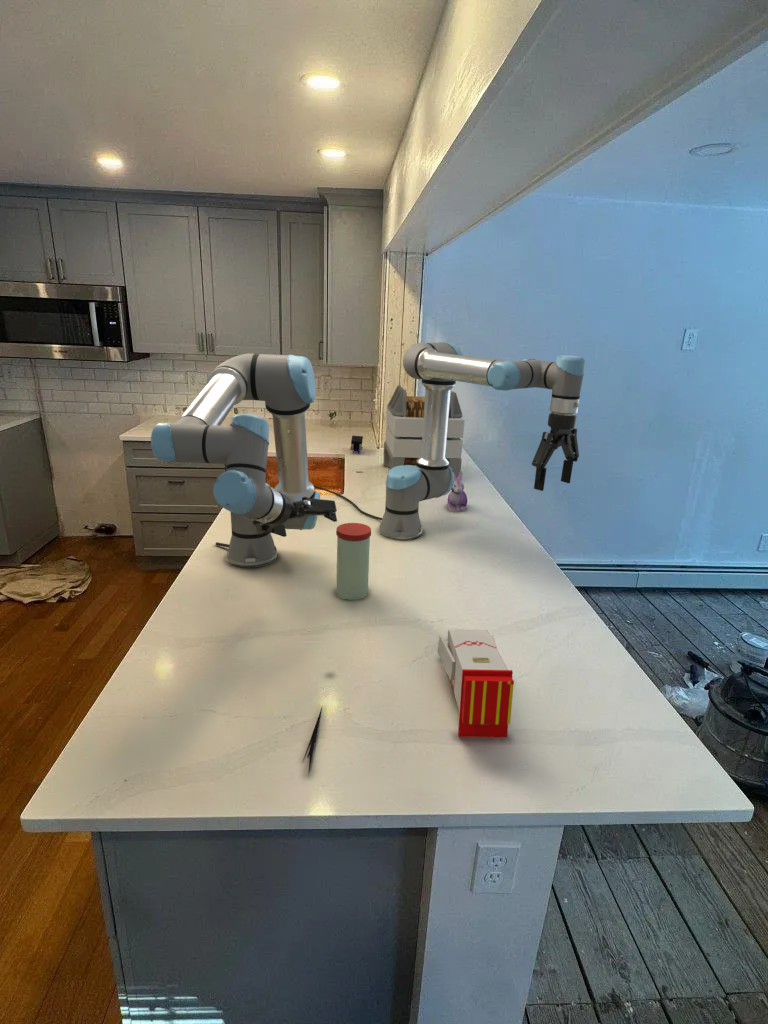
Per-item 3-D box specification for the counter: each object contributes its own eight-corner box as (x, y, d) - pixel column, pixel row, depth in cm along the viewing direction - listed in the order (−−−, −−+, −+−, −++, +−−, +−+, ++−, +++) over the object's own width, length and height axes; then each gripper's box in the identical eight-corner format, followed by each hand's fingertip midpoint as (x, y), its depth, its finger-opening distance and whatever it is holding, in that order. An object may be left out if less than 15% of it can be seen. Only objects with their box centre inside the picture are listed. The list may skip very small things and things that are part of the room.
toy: (488, 613, 130) (523, 677, 101) (484, 667, 133) (517, 744, 104) (435, 612, 130) (455, 676, 101) (432, 666, 133) (451, 743, 103)
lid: (375, 539, 149) (376, 533, 149) (342, 542, 146) (342, 537, 146) (364, 526, 157) (364, 521, 157) (332, 529, 154) (332, 524, 154)
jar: (372, 597, 155) (374, 534, 149) (341, 601, 152) (342, 538, 146) (361, 583, 163) (363, 523, 157) (332, 587, 160) (333, 526, 154)
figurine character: (362, 457, 305) (363, 447, 318) (362, 443, 301) (363, 434, 315) (350, 456, 304) (351, 447, 318) (350, 443, 301) (351, 434, 314)
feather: (331, 679, 122) (336, 673, 122) (307, 777, 96) (313, 769, 95) (324, 675, 122) (329, 669, 121) (298, 772, 95) (304, 764, 95)
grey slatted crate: (382, 463, 289) (386, 382, 275) (445, 464, 293) (451, 384, 279) (390, 482, 257) (394, 392, 243) (460, 483, 261) (468, 394, 247)
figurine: (454, 513, 222) (457, 476, 217) (439, 505, 230) (442, 470, 225) (473, 510, 226) (477, 474, 221) (459, 503, 234) (462, 468, 229)
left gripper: (218, 538, 120) (266, 551, 140) (325, 506, 115) (359, 524, 135) (213, 505, 122) (261, 523, 142) (318, 472, 117) (353, 495, 137)
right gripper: (548, 419, 148) (537, 496, 155) (598, 411, 163) (586, 482, 171) (525, 414, 153) (515, 489, 160) (575, 407, 169) (564, 476, 176)
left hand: (309, 523), depth 138 cm, fingers open, 13 cm apart
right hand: (552, 485), depth 166 cm, fingers open, 13 cm apart
